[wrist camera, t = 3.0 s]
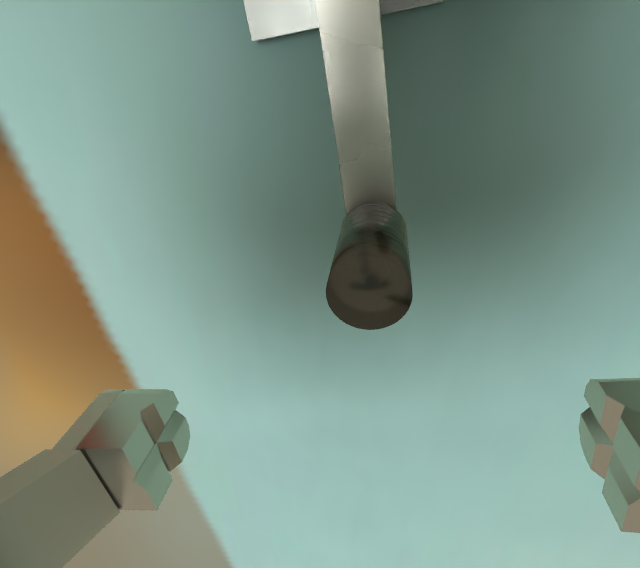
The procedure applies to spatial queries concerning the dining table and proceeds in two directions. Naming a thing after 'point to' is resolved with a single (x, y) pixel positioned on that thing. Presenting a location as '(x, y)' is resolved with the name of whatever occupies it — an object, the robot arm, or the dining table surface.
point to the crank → (363, 170)
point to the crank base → (303, 15)
